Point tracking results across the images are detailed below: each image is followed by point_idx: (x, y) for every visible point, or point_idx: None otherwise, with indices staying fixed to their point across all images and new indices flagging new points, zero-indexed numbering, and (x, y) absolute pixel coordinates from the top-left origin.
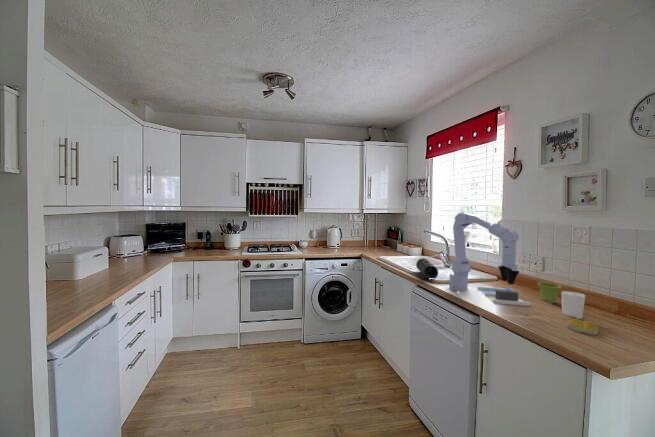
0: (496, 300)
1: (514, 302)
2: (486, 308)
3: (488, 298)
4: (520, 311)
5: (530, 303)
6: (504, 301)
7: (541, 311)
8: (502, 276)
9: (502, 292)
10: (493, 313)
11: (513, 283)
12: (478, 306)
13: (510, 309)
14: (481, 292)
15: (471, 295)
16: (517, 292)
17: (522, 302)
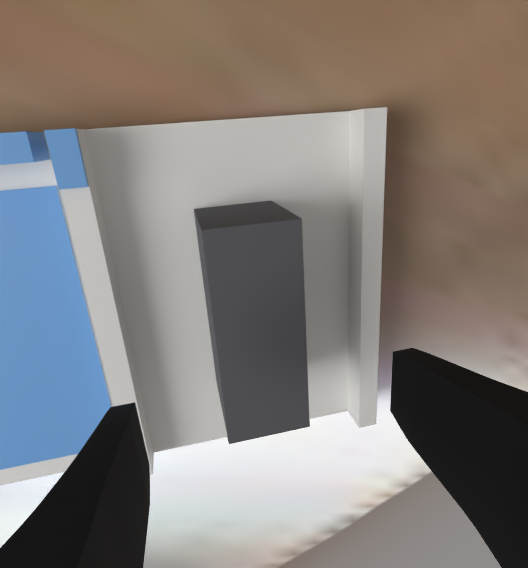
0: (374, 404)
1: (377, 265)
2: None
3: None
4: (465, 238)
5: (382, 111)
6: (374, 345)
7: (438, 39)
8: (143, 538)
9: (305, 385)
10: None
11: (427, 357)
12: (408, 479)
13: (431, 299)
14: (22, 479)
15: None
16: (273, 222)
17: (381, 193)
